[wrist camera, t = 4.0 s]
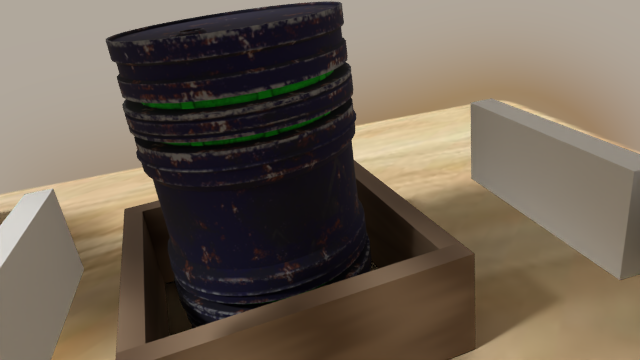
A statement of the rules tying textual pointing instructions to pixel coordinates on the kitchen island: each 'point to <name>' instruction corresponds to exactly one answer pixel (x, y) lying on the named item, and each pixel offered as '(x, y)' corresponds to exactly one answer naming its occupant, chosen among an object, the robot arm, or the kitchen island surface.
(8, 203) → the kitchen island surface
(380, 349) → the walnut open box
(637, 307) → the kitchen island surface
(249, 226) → the dark blue cylinder
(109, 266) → the kitchen island surface
